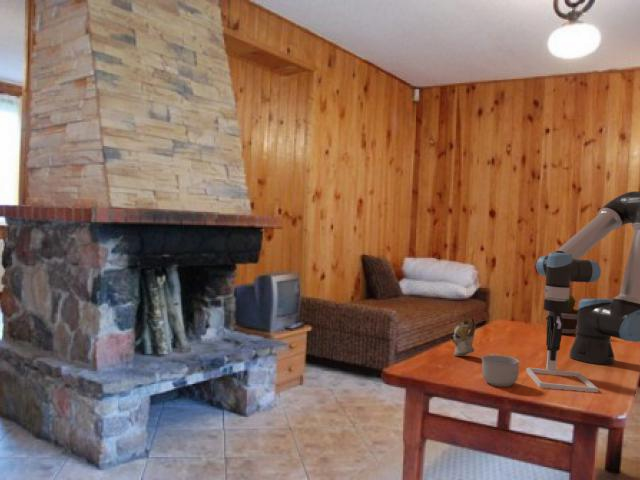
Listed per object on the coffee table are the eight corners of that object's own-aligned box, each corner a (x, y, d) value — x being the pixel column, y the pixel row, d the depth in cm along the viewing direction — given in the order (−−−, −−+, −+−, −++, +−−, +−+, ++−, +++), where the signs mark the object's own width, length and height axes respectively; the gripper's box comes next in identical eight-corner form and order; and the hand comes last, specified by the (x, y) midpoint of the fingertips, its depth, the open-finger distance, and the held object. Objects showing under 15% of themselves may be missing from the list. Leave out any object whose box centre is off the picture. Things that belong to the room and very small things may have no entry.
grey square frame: (578, 378, 185) (579, 372, 185) (597, 395, 167) (598, 388, 167) (526, 373, 188) (526, 367, 188) (539, 389, 169) (539, 383, 169)
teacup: (519, 391, 165) (521, 364, 165) (481, 387, 167) (483, 360, 167) (513, 378, 179) (515, 354, 178) (478, 375, 181) (479, 350, 181)
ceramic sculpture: (445, 352, 211) (448, 312, 210) (467, 353, 212) (470, 313, 211) (454, 359, 200) (457, 317, 200) (478, 360, 201) (481, 318, 200)
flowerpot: (539, 329, 271) (542, 288, 271) (569, 331, 273) (572, 290, 272) (555, 336, 257) (558, 292, 256) (586, 337, 259) (589, 294, 258)
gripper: (540, 295, 193) (535, 363, 194) (549, 300, 181) (543, 373, 181) (563, 297, 192) (557, 365, 193) (573, 302, 179) (568, 375, 180)
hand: (551, 369), depth 187 cm, fingers closed
